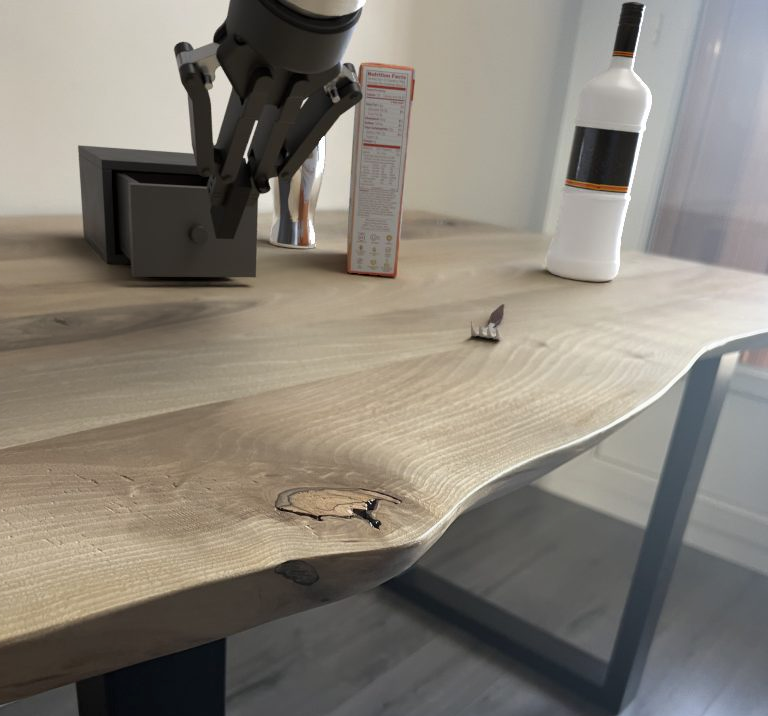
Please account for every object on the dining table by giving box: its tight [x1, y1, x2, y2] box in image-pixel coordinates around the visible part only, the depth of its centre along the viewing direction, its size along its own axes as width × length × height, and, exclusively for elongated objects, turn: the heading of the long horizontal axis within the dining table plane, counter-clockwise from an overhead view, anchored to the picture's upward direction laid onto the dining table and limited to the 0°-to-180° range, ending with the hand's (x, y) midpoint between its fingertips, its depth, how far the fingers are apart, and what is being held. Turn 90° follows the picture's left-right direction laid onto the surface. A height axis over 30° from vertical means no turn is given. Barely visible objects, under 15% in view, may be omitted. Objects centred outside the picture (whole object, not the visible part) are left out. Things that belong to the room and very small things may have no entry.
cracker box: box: [346, 61, 416, 278], centre depth 92 cm, size 14×6×21 cm, turn 2°
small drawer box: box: [77, 144, 199, 265], centre depth 89 cm, size 15×13×10 cm
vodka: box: [544, 1, 652, 283], centre depth 98 cm, size 9×9×30 cm
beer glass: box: [268, 134, 327, 250], centre depth 101 cm, size 7×7×15 cm
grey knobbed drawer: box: [112, 170, 259, 278], centre depth 80 cm, size 15×12×8 cm
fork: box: [470, 303, 505, 340], centre depth 74 cm, size 3×16×2 cm, turn 166°
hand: (221, 224), depth 68 cm, fingers closed
